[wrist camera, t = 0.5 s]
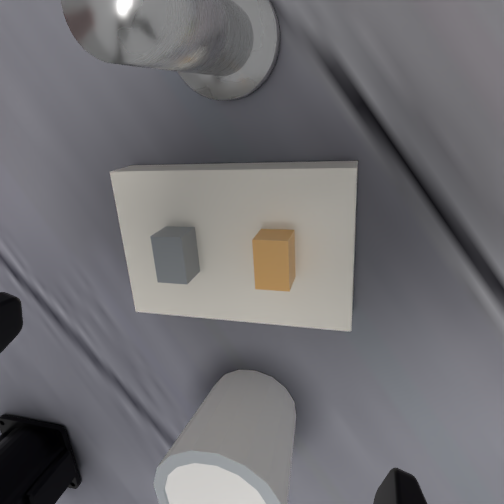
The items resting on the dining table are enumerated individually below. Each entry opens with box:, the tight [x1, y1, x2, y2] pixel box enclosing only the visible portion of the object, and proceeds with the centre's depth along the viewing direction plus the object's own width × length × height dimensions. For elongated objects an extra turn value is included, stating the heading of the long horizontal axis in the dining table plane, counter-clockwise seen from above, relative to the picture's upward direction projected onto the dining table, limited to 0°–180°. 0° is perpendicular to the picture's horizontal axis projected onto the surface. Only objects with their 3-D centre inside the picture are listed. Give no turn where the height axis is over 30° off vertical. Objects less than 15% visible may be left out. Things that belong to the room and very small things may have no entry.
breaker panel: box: [110, 161, 358, 332], centre depth 20 cm, size 12×8×4 cm, turn 94°
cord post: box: [61, 0, 280, 100], centre depth 14 cm, size 5×5×9 cm
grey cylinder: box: [153, 370, 296, 504], centre depth 22 cm, size 7×7×7 cm
